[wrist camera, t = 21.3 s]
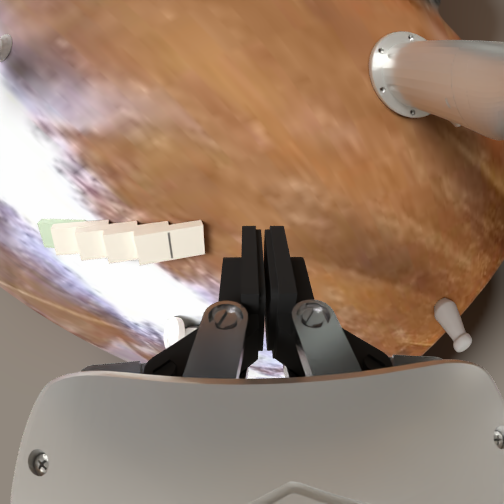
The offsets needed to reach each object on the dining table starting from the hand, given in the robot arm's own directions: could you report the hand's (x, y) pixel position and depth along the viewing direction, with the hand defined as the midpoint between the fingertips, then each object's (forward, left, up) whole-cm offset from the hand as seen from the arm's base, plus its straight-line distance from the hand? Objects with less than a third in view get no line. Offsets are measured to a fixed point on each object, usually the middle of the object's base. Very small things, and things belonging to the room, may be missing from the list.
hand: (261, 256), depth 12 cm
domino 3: (+5, +19, -26) cm, 33 cm away
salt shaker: (-53, +13, -27) cm, 61 cm away
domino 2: (+10, +21, -26) cm, 35 cm away
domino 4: (0, +17, -26) cm, 31 cm away
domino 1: (+14, +23, -26) cm, 38 cm away
